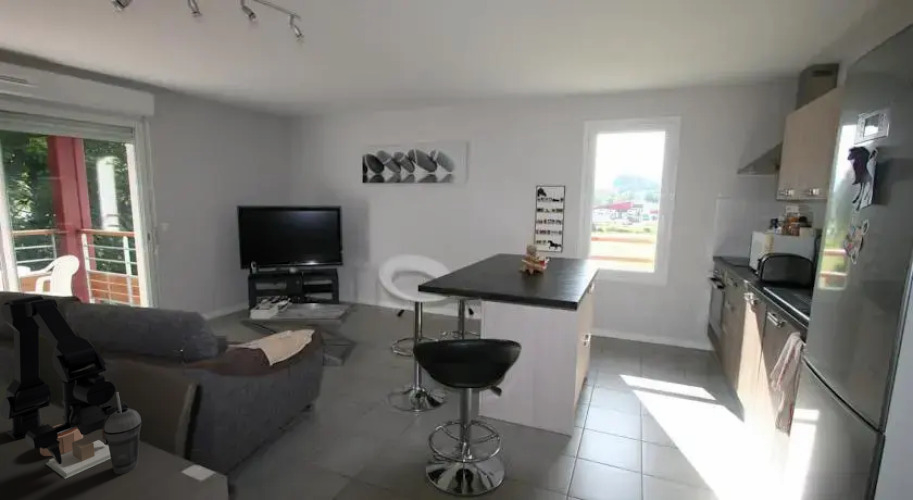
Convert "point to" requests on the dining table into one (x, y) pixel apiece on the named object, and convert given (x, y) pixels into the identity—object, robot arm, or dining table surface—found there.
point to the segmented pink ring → (65, 441)
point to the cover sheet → (79, 465)
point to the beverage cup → (123, 438)
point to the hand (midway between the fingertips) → (83, 453)
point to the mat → (74, 473)
